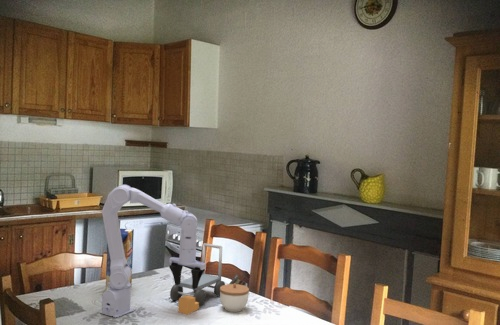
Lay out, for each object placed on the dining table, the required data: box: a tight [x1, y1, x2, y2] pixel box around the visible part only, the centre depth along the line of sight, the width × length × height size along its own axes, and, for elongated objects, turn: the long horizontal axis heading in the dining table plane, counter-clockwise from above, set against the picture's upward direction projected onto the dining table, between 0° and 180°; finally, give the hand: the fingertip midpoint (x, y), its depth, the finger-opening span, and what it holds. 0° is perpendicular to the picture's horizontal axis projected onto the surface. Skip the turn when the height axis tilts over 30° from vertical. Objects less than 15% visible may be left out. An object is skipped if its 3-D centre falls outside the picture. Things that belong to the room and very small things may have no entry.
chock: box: [178, 295, 200, 315], centre depth 169 cm, size 7×4×5 cm, turn 151°
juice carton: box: [105, 228, 135, 291], centre depth 186 cm, size 12×8×24 cm, turn 2°
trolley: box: [169, 242, 226, 307], centre depth 183 cm, size 20×12×20 cm, turn 151°
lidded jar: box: [219, 283, 250, 313], centre depth 173 cm, size 11×11×9 cm
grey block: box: [228, 273, 248, 287], centre depth 191 cm, size 10×7×12 cm
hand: (186, 286), depth 167 cm, fingers open, 7 cm apart
